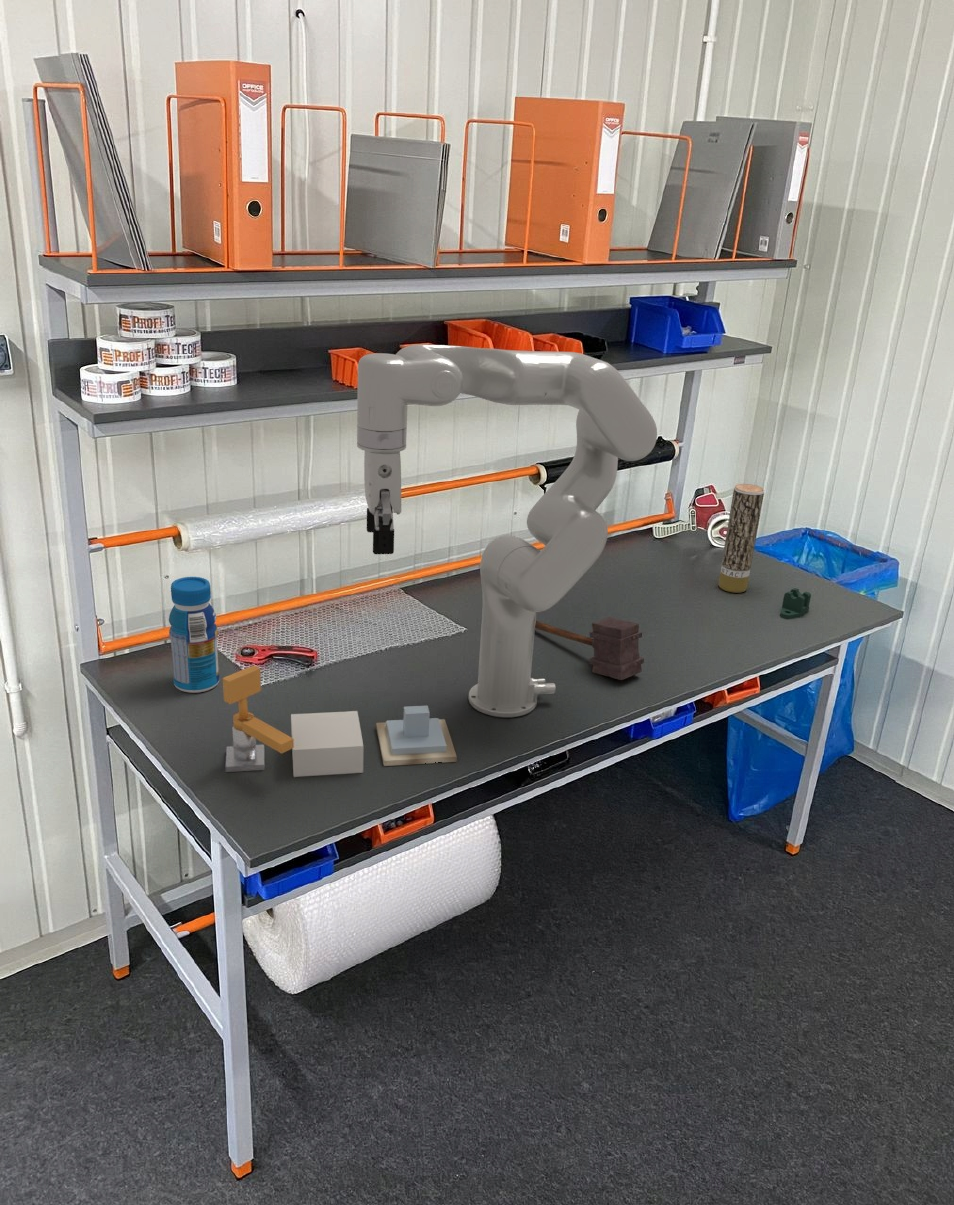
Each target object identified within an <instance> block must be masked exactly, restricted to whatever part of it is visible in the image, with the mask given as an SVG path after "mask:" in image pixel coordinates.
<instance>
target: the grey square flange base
mask: <svg viewBox="0 0 954 1205" xmlns="http://www.w3.org/2000/svg"><path fill="white" fill-rule="evenodd" d="M231 727H232V729H231V730H232V746H226V750H225V751H226V754H225V773H233V772H235V773H237V772H251V771H252V772H254V771H264V770H265V744H257V739H255V738H254V737H252V736H250V735H249V734H247V733H245V732H243V731H239V730H236V729H235V728H234V724H232V726H231Z"/></svg>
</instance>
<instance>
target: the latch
mask: <svg viewBox="0 0 954 1205" xmlns="http://www.w3.org/2000/svg"><path fill="white" fill-rule="evenodd" d="M261 680H262V679H261V668H260V667H258V666H256V665H254V664H253V665H251V666H248V667H246V668H244V669H241V670H238V671H236V672H234V673H231V674H229V675H226V676H224V677H222V688H223V689H222V692H223V693H222V694H223V701H224V702H225V703H227V704H229V705H232V704H234V703H236V702H237V705H238V706H237V707H238V712H236V713H235V714H233V716H232V720H233V722H232V723H233V724H234V728H235V729H236V730H239V731H243V732H245V733H247V734H249V735H250V736H252V737H254V738H255V739H256V741H259V742H261V743H262V744H263V745H266V746H268V747H269V748H271V749H273V750H275V751H276V752H278V753H280V754H281V755H282V754H284V753H286V752H288V751H291V750H292V748H294V739H293V738H291V736H289V735H288V734H286V733H284V732H282V731H280V730H279V729H277V728H276V727H273V726H271V725H270V724H268V723H267V722H264V721H263V720H261V719H260V718H257V717H256V716H255V715H254V714H253V713H252V712H249V709H248V698H249V697H251V696H253V695H255V694H257V693H260V692H262V684H261V683H262V682H261ZM233 724H232V725H233Z"/></svg>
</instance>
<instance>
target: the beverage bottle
mask: <svg viewBox="0 0 954 1205" xmlns="http://www.w3.org/2000/svg"><path fill="white" fill-rule="evenodd" d="M210 583H211V582H210V581H209V580H208V579H206V578H204V577H200V576H185V577H181V578H177V579H175V580H174V581H172V583H171V584H170V596H171V601H172V603H173V606H172V608H171V610H170V612H169V615H168V623H169V625H170V627H169V629H168V635H169V639H170V647H171V656H172V657H171V658H172V660H171V661H172V669H173V670H172V671H173V685H174V686H175V688H176V689H177V690H179V691H182V692H183V693H184V692H185V693H190V694H195V693H202V692H203V693H205V692H207V691H210V690H212V689H214V688H216V687H217V685H218V684H219V682H220V669H219V657H218V635H219V630H218V626H217V623H216V621H217V614H216V612H215V610H214V608H213V606H212V605H211V604H210V601H211V599H212V591H211V584H210Z"/></svg>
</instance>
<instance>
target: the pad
mask: <svg viewBox="0 0 954 1205" xmlns="http://www.w3.org/2000/svg"><path fill="white" fill-rule="evenodd" d="M439 722H440V726H441V729H442V732H443V736H444V739H445V742H446V745H447V748H446V752H438V753H420V754H402V755H392V752H391V747H390V743H389V738H388V733H387V728H386V721H385V722H376V723H375V724H376V725H375V728H376V733H377V738H378V743H379V749H380V753H381V758H382V763H383V767H389V766H390V767H392V766H405V765H409V766H410V765H423V764H424V765H425V763H426V764H439V763H438V762H442V763H454V762H456V763H457V758H458V757H457V753H456V751H455V747H454V744H453V741H452V738H451V734H450V731H449V728H448V725H447V722H446V719H445V718H442V719H440V718H439ZM435 762H436V763H435Z"/></svg>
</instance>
